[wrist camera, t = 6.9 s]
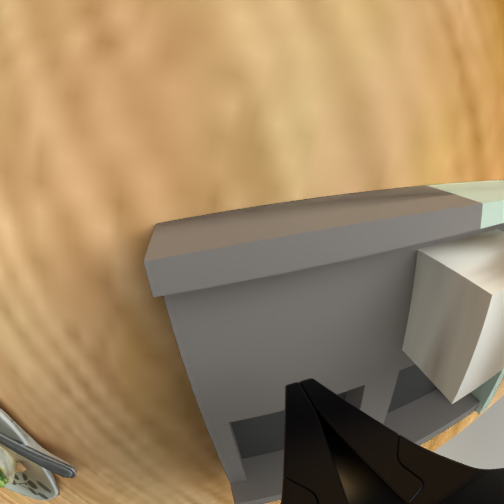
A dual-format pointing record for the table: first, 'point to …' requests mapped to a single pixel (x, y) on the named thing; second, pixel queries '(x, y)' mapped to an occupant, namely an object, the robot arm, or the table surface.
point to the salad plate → (28, 463)
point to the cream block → (458, 313)
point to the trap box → (310, 313)
